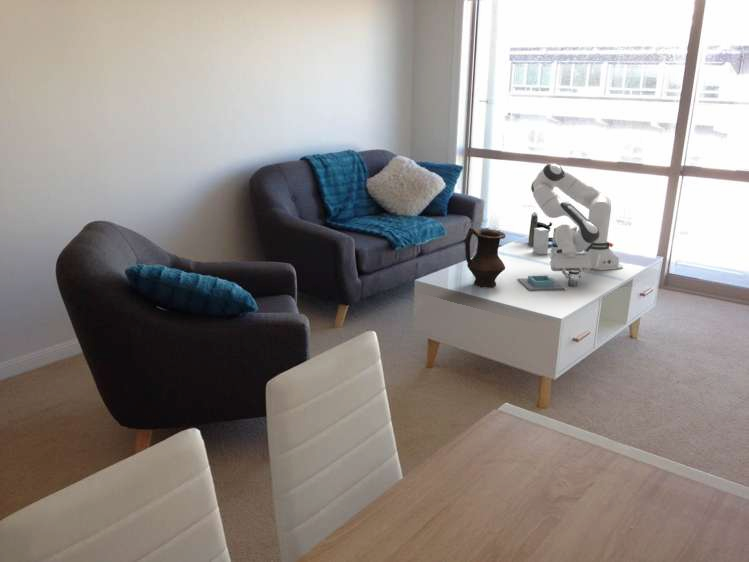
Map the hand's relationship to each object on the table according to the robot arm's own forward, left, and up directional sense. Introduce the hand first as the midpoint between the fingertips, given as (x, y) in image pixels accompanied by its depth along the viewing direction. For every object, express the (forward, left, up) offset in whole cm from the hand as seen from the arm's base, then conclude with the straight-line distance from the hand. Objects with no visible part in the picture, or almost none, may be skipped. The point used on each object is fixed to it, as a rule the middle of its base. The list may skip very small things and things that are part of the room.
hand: (573, 277), depth 327 cm
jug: (+45, -6, -5) cm, 46 cm away
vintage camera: (-15, -86, -5) cm, 87 cm away
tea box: (-23, -70, -5) cm, 73 cm away
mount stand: (+16, -3, -4) cm, 17 cm away
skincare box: (-7, -66, -5) cm, 66 cm away
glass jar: (0, -1, -4) cm, 4 cm away
